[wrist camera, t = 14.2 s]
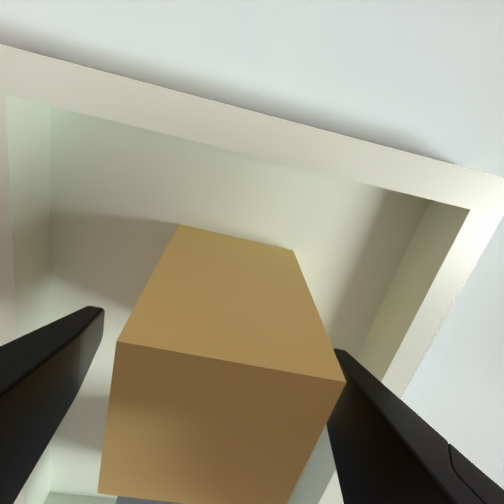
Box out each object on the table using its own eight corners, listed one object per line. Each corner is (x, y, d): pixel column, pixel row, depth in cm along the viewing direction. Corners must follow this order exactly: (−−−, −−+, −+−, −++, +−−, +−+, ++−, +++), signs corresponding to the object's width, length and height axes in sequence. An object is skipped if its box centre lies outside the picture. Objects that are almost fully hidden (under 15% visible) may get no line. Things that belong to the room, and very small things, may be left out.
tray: (294, 515, 18) (302, 572, 16) (35, 489, 17) (2, 549, 14) (462, 168, 11) (522, 182, 9) (24, 51, 9) (-48, 31, 7)
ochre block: (262, 341, 13) (281, 514, 7) (160, 321, 12) (96, 493, 7) (293, 250, 11) (346, 381, 6) (179, 223, 11) (116, 340, 5)
